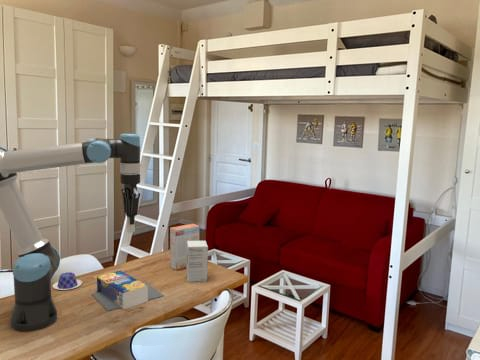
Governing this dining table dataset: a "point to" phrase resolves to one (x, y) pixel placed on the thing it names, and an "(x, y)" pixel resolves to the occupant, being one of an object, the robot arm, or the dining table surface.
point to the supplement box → (197, 261)
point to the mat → (112, 305)
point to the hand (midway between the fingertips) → (130, 231)
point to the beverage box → (122, 289)
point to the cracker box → (181, 244)
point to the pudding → (67, 281)
